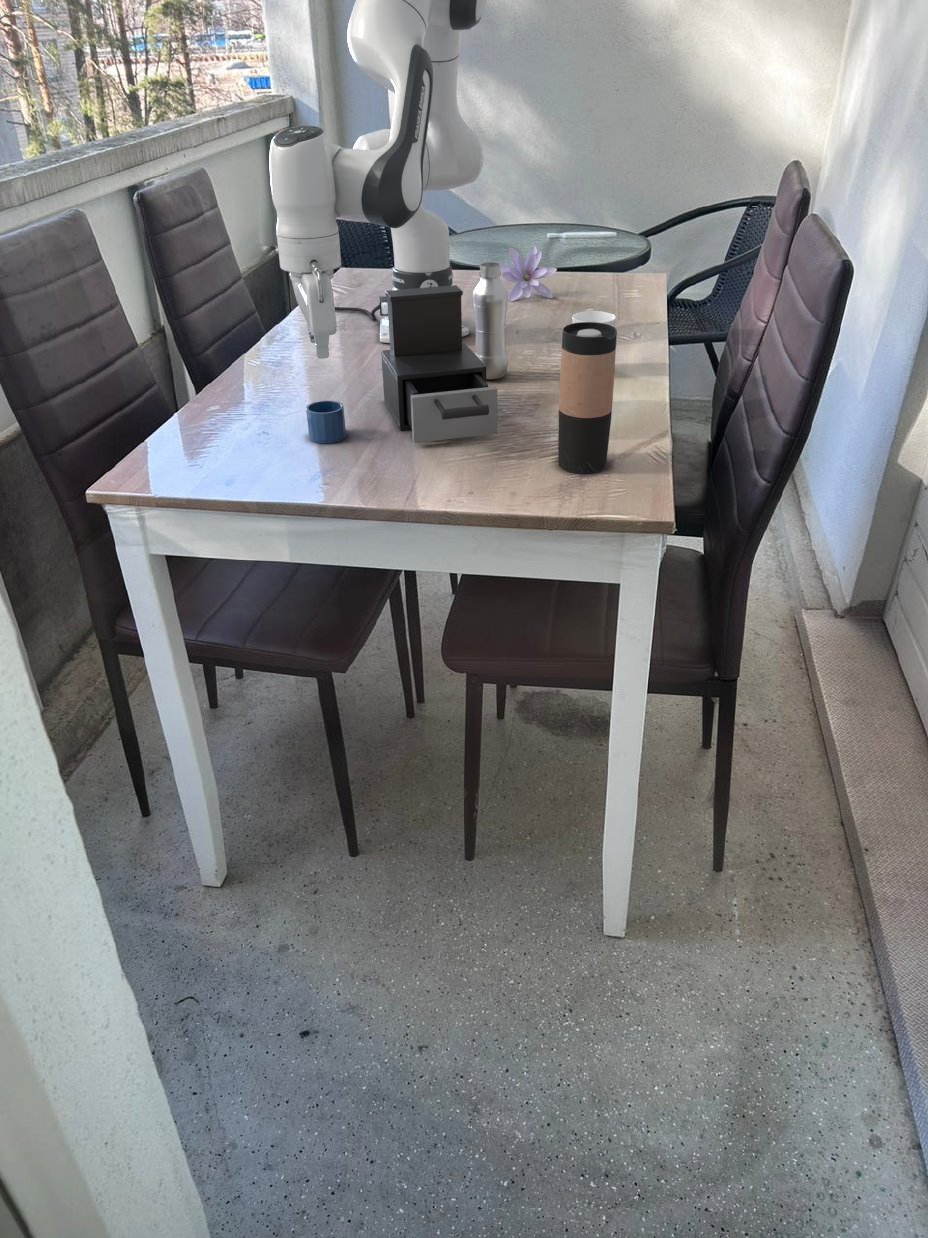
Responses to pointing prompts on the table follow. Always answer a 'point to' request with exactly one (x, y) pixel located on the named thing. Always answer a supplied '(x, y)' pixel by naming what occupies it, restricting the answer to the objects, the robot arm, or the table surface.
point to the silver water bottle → (491, 320)
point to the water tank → (425, 320)
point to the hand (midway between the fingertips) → (319, 349)
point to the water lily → (526, 274)
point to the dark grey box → (422, 373)
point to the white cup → (594, 317)
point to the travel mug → (586, 396)
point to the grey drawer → (449, 407)
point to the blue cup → (326, 422)
